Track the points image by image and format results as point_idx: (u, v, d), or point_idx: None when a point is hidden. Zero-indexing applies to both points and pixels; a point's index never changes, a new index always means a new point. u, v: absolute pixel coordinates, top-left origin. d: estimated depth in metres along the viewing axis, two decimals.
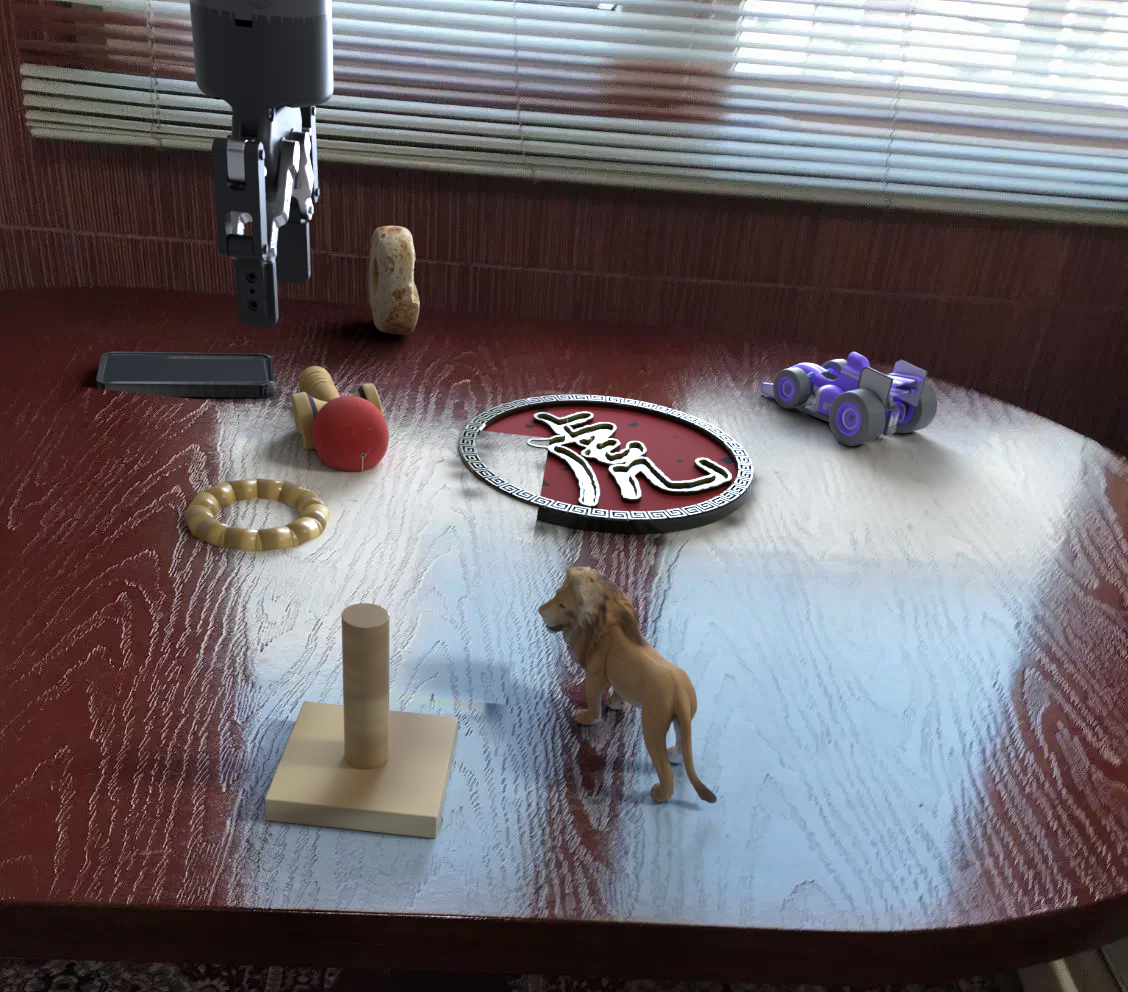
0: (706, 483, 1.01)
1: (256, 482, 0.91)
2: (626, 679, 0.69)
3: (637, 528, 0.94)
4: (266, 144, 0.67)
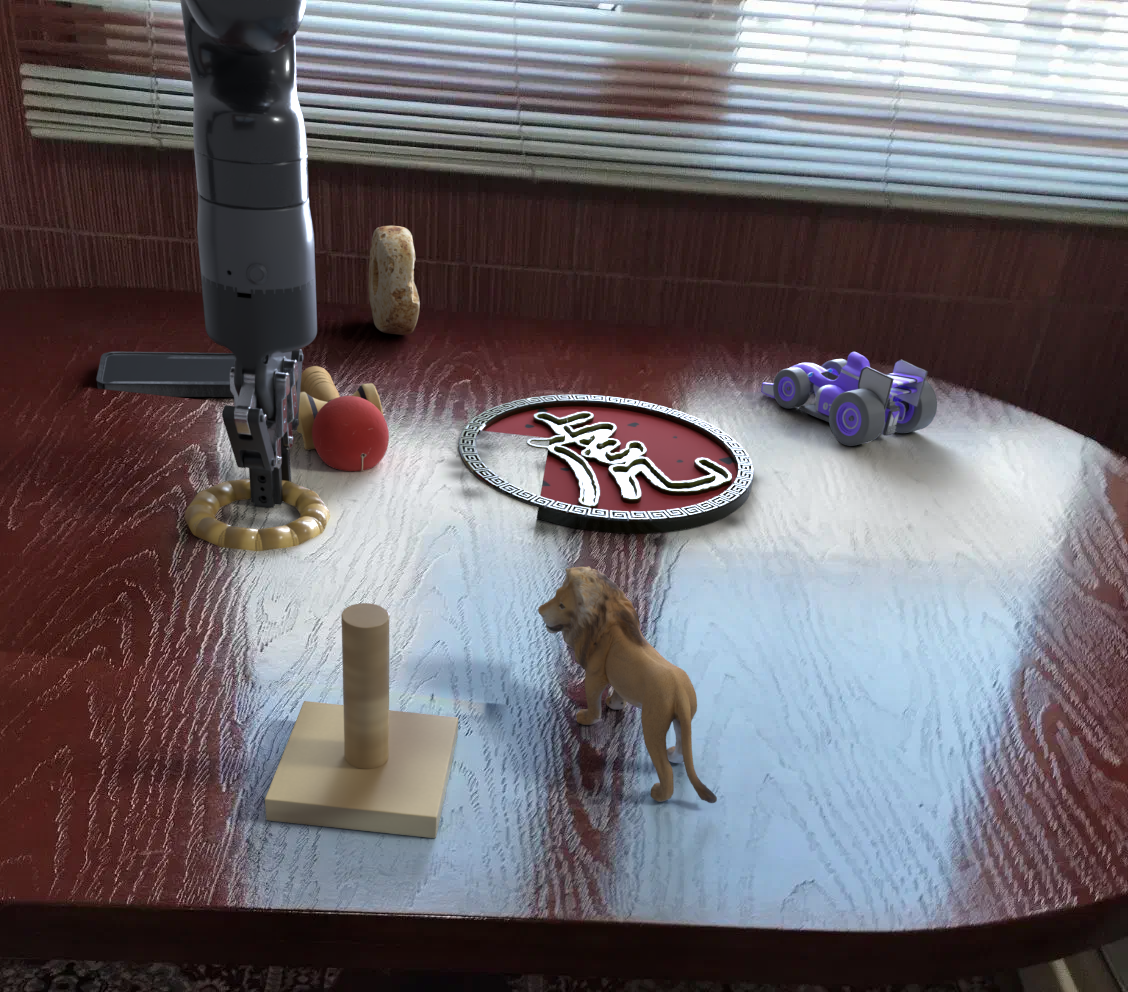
0: (706, 483, 1.01)
1: None
2: (626, 678, 0.69)
3: (638, 528, 0.94)
4: (263, 389, 0.83)
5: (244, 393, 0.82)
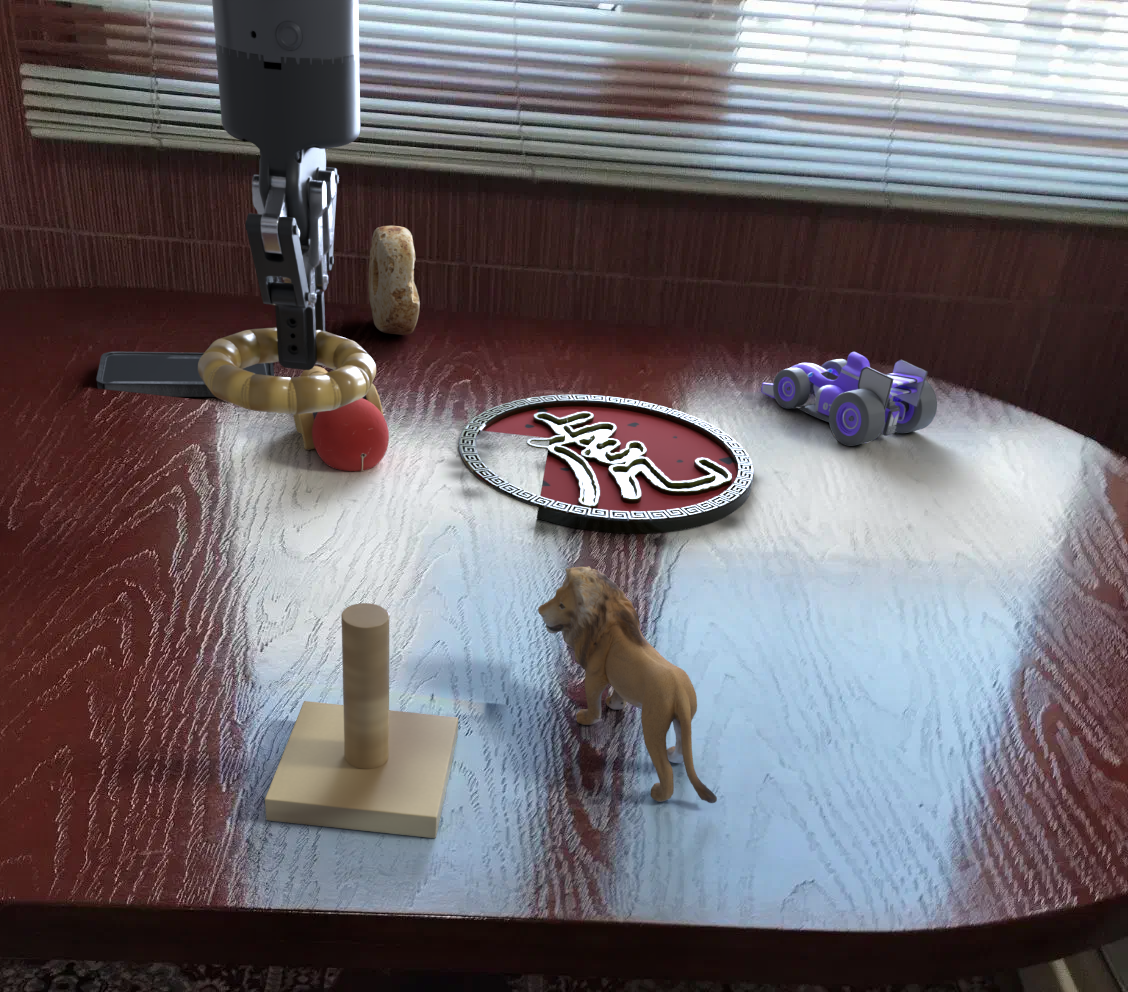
0: (706, 483, 1.01)
1: None
2: (626, 678, 0.69)
3: (638, 528, 0.94)
4: (295, 196, 0.66)
5: (272, 199, 0.65)
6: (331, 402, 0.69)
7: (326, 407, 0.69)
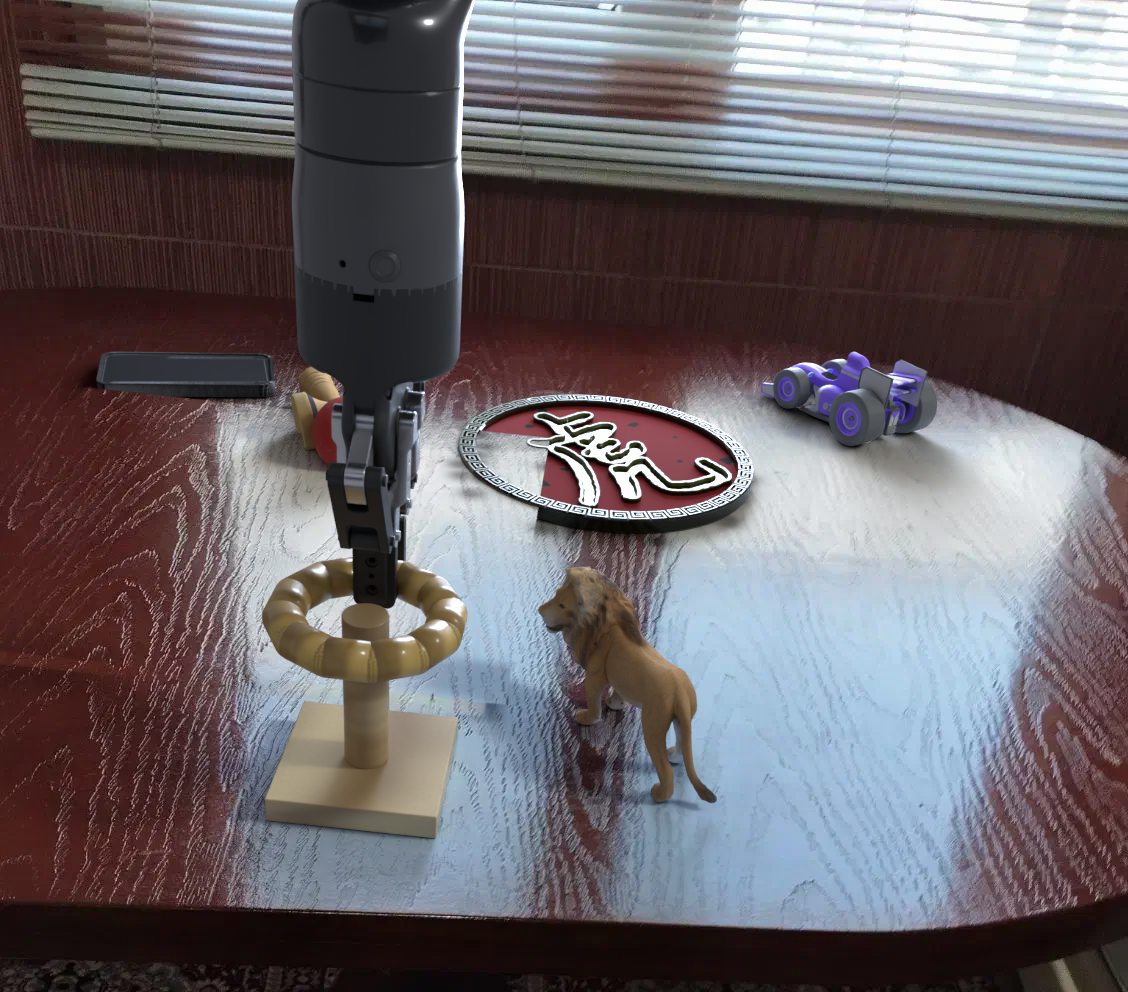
0: (706, 483, 1.01)
1: None
2: (626, 679, 0.69)
3: (638, 528, 0.94)
4: (384, 438, 0.56)
5: (357, 444, 0.55)
6: (418, 670, 0.59)
7: (411, 674, 0.59)
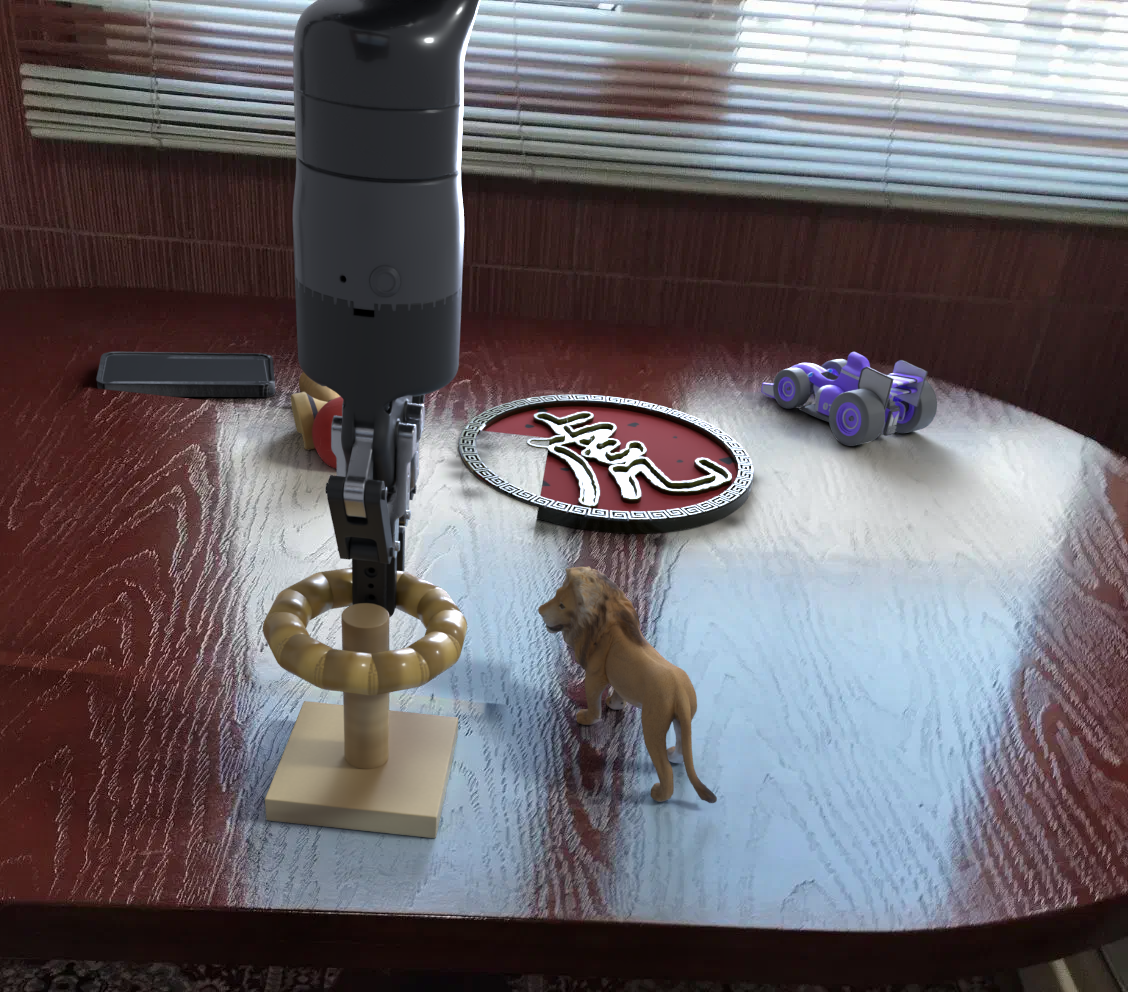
0: (706, 483, 1.01)
1: None
2: (626, 679, 0.69)
3: (638, 528, 0.94)
4: (383, 451, 0.56)
5: (357, 457, 0.56)
6: (418, 682, 0.59)
7: (411, 686, 0.59)
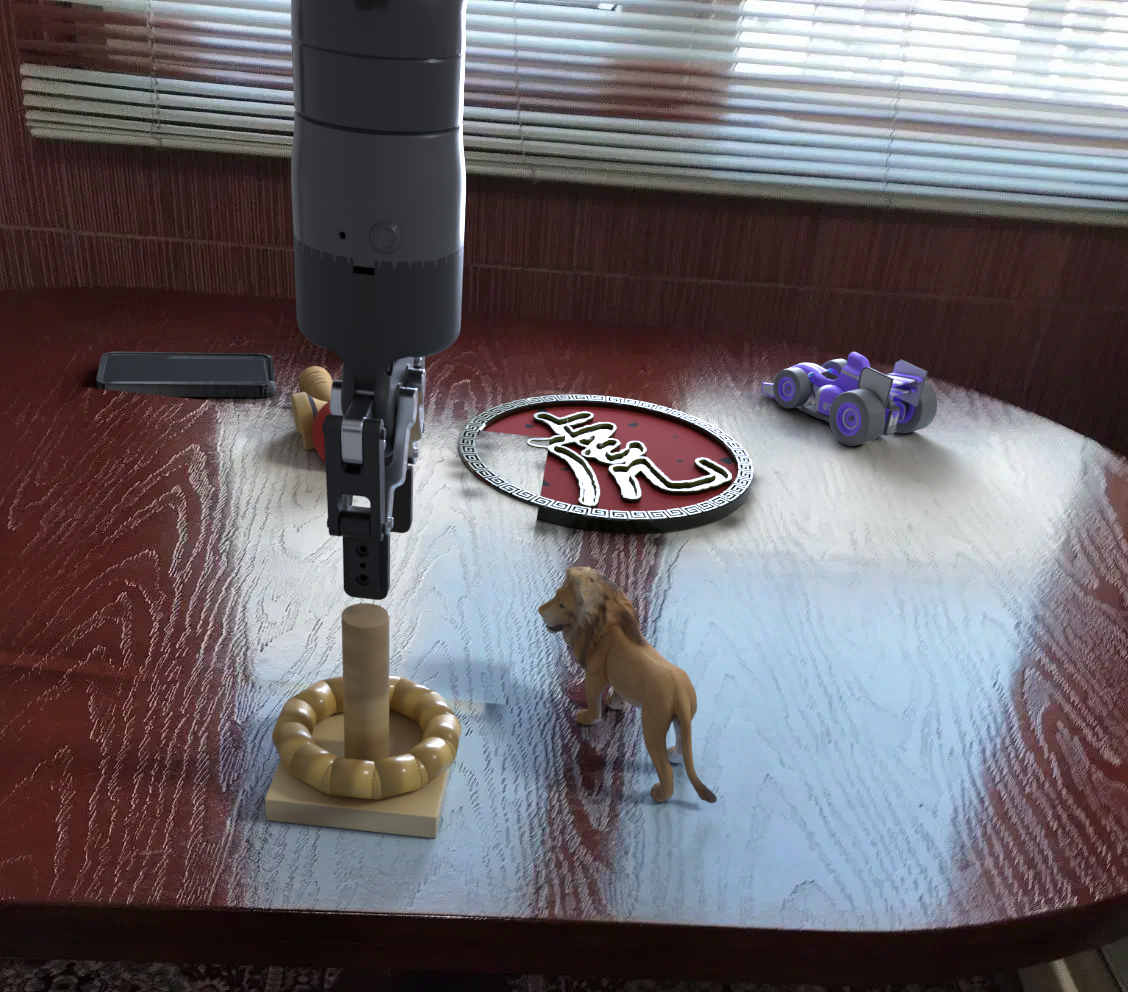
0: (706, 483, 1.01)
1: None
2: (626, 679, 0.69)
3: (638, 527, 0.94)
4: (384, 406, 0.55)
5: (357, 405, 0.54)
6: (417, 786, 0.64)
7: (411, 789, 0.64)
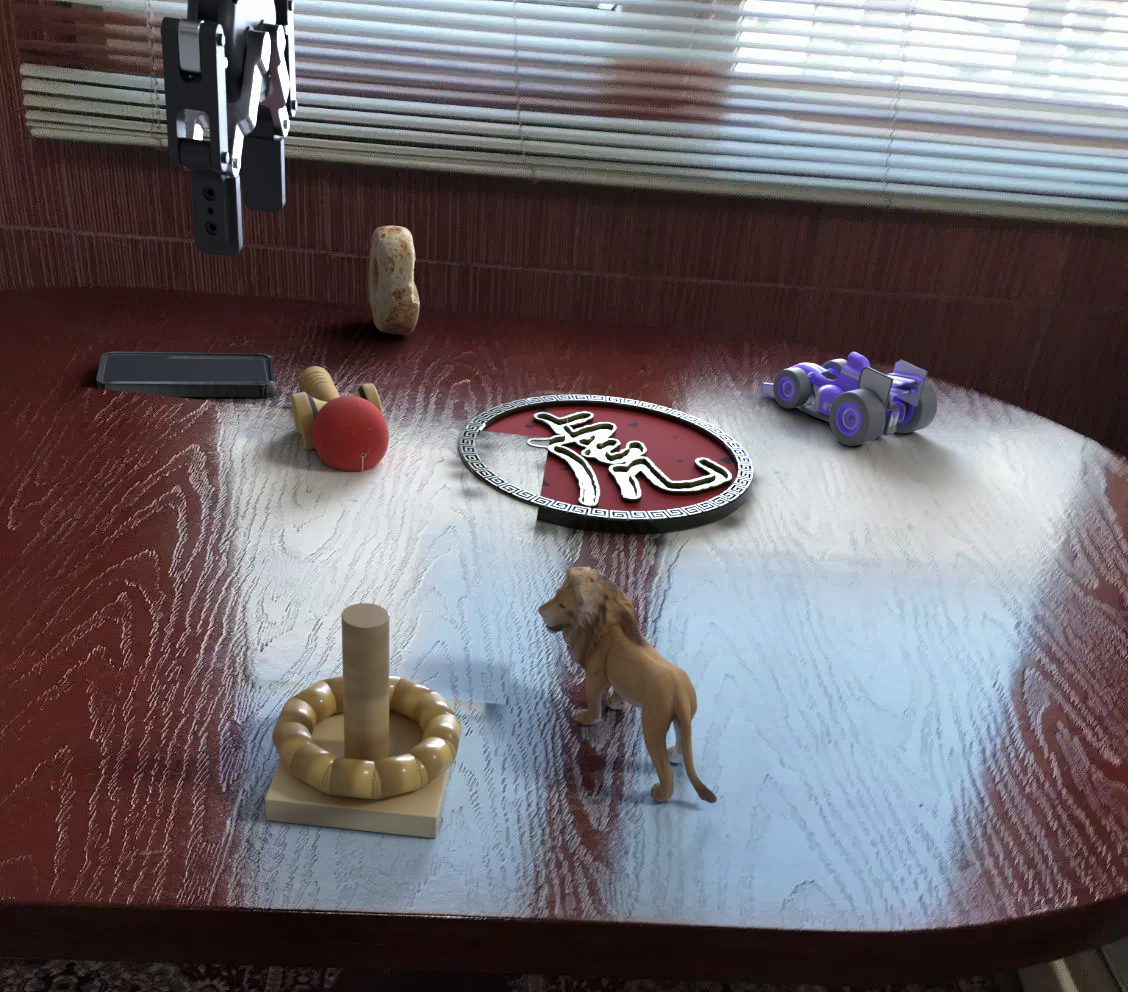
0: (706, 483, 1.01)
1: None
2: (626, 678, 0.69)
3: (638, 527, 0.94)
4: (228, 30, 0.56)
5: (199, 21, 0.55)
6: (417, 786, 0.64)
7: (411, 789, 0.64)
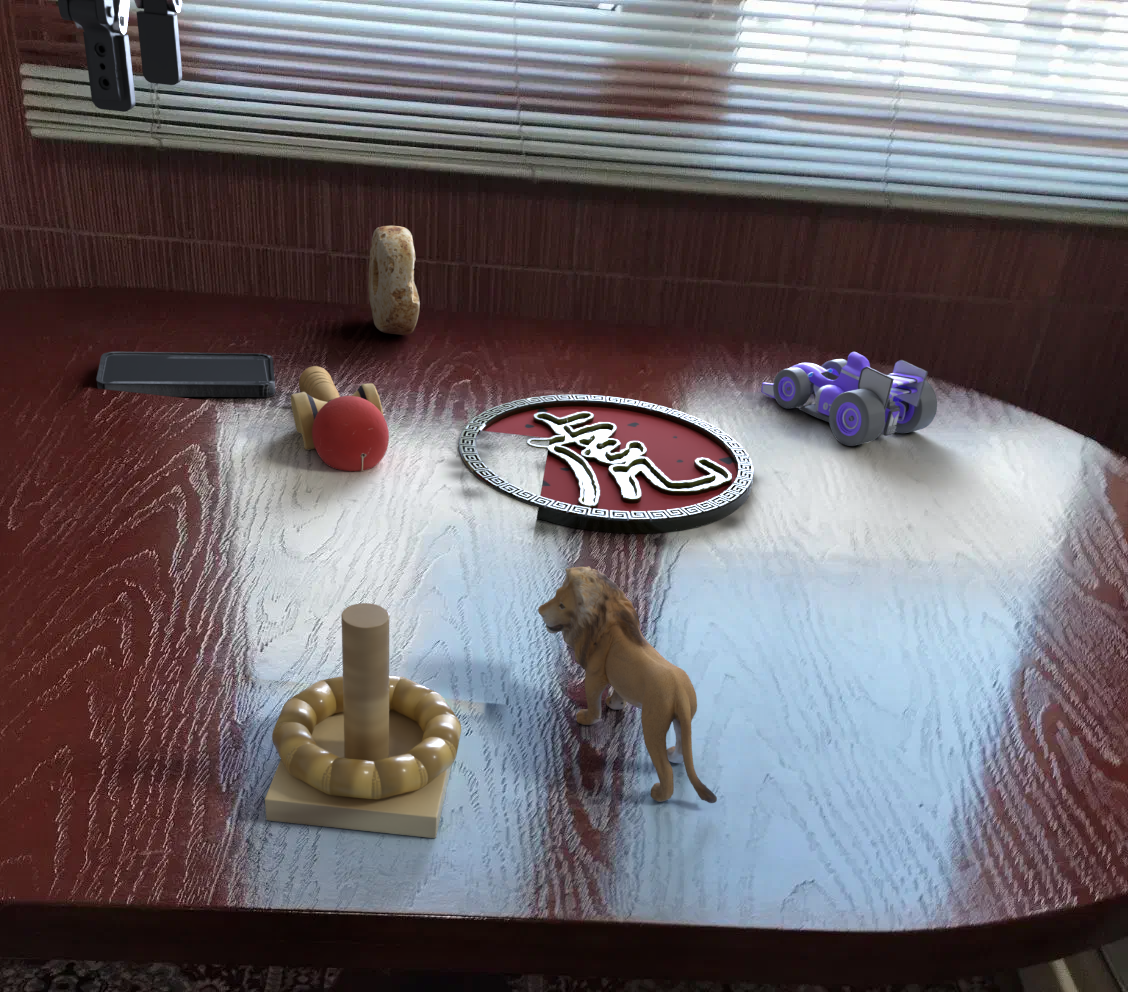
0: (706, 483, 1.01)
1: None
2: (626, 679, 0.69)
3: (638, 527, 0.94)
4: None
5: None
6: (417, 786, 0.64)
7: (411, 789, 0.64)
